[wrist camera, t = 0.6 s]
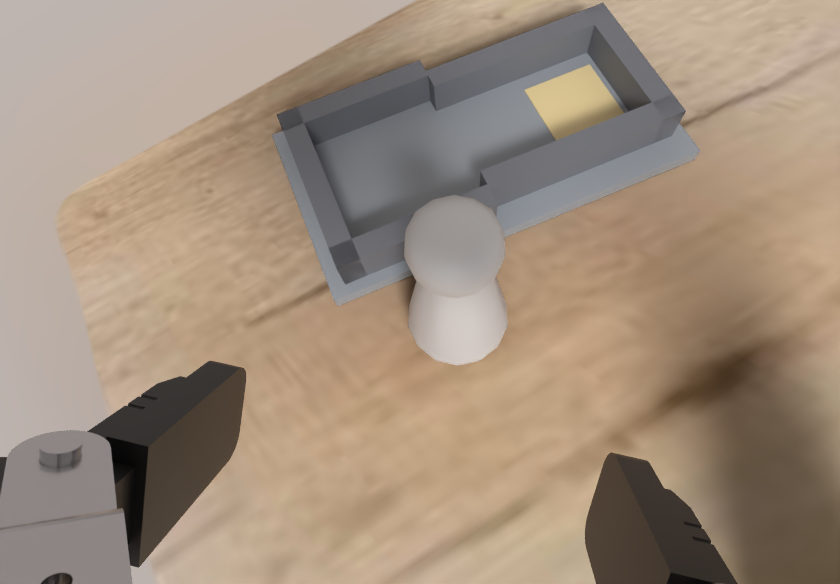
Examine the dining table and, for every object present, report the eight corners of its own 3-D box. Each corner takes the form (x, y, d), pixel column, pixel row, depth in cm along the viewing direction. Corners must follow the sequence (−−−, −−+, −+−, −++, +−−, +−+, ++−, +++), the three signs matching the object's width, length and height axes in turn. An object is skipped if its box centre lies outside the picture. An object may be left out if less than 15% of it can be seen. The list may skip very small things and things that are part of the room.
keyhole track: (337, 306, 35) (324, 285, 32) (276, 143, 40) (259, 111, 37) (694, 159, 37) (716, 126, 34) (592, 21, 42) (602, -19, 39)
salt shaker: (397, 307, 35) (361, 203, 23) (478, 271, 35) (483, 149, 23) (436, 390, 33) (418, 322, 21) (521, 349, 33) (552, 260, 21)
